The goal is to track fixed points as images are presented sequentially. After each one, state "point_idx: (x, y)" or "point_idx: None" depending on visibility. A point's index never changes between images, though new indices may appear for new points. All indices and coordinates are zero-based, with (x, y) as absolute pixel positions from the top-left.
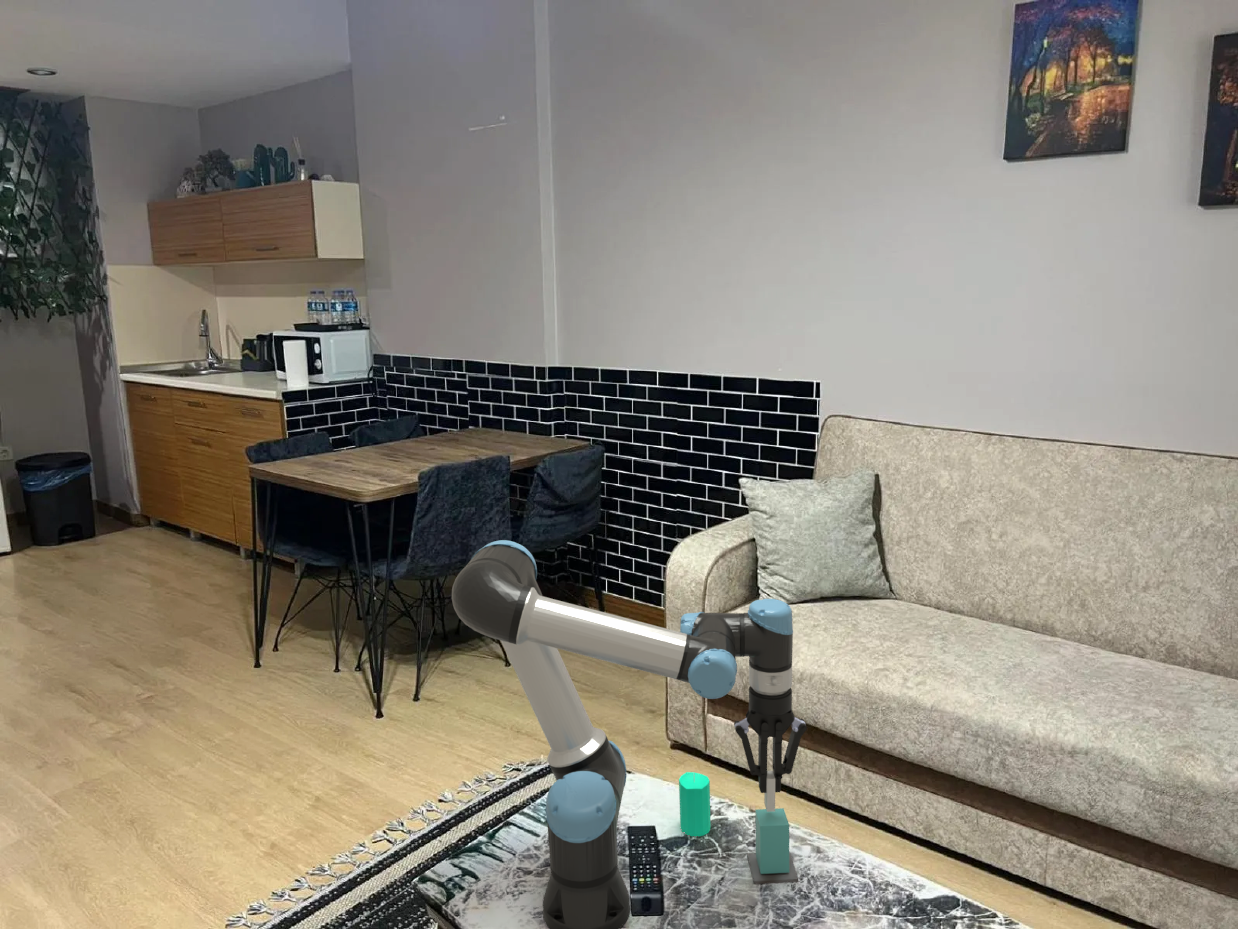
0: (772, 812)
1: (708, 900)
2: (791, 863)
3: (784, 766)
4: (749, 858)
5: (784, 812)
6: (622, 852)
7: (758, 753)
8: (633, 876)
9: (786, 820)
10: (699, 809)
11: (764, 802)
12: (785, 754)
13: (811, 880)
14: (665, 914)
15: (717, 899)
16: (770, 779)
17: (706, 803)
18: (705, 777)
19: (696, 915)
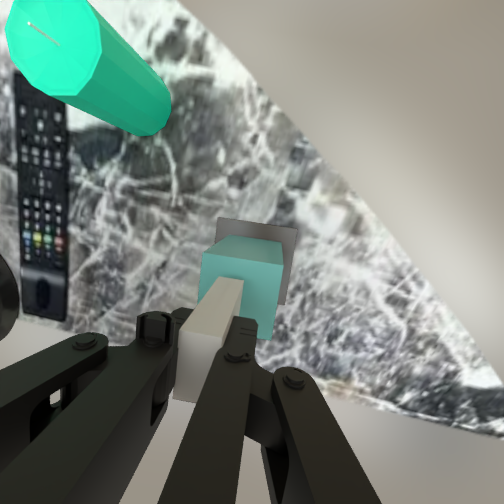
0: (245, 276)
1: (133, 309)
2: (288, 263)
3: (265, 439)
4: (217, 233)
5: (278, 285)
6: (6, 156)
7: (62, 414)
8: (24, 227)
9: (271, 320)
10: (110, 117)
11: (217, 278)
12: (293, 455)
13: (307, 303)
14: (68, 322)
15: (146, 310)
16: (190, 398)
17: (123, 105)
18: (93, 24)
19: (111, 335)
